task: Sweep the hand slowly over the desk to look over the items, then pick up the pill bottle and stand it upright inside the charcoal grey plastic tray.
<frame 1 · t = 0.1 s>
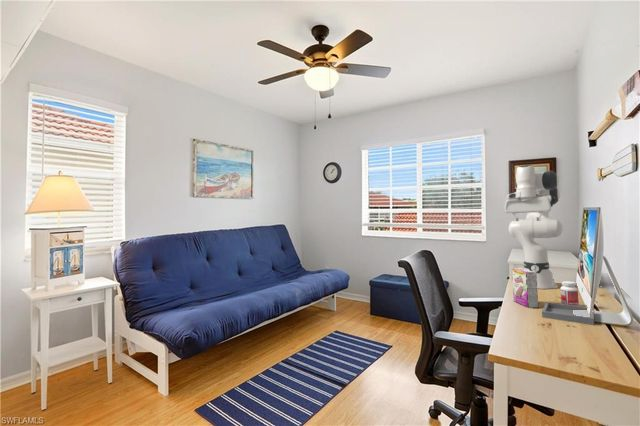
hand: (527, 221, 159), 39 cm above the table, tool pointing down, fingers open, 8 cm apart
candy bar box: (525, 305, 144), on the table
pill bottle: (570, 306, 138), on the table
grey tray: (568, 315, 127), on the table
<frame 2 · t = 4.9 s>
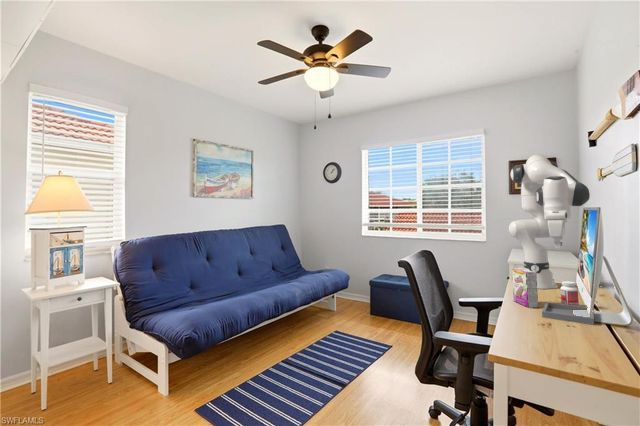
hand: (558, 247, 128), 29 cm above the table, tool pointing down, fingers open, 8 cm apart
nothing on the table moved.
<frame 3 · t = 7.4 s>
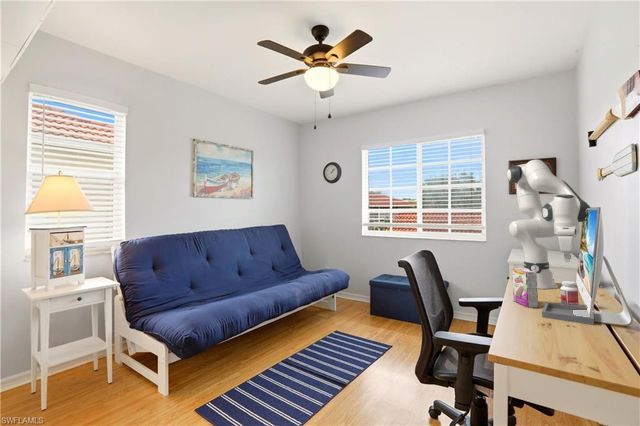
hand: (568, 260, 138), 21 cm above the table, tool pointing down, fingers open, 8 cm apart
nothing on the table moved.
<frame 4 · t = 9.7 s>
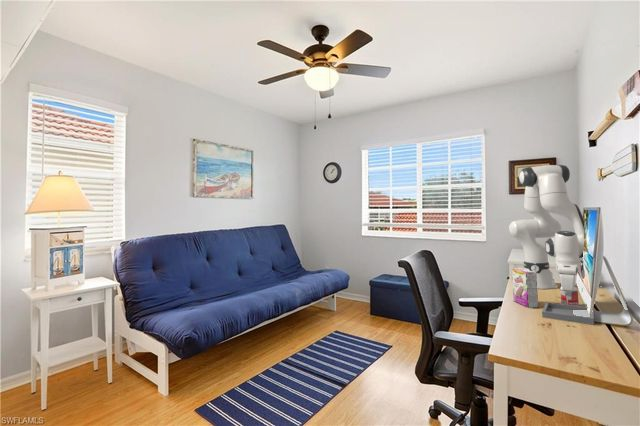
hand: (569, 297, 138), 4 cm above the table, tool pointing down, fingers closed on pill bottle, 6 cm apart
pill bottle: (570, 306, 138), on the table, touching gripper
everything else where it was.
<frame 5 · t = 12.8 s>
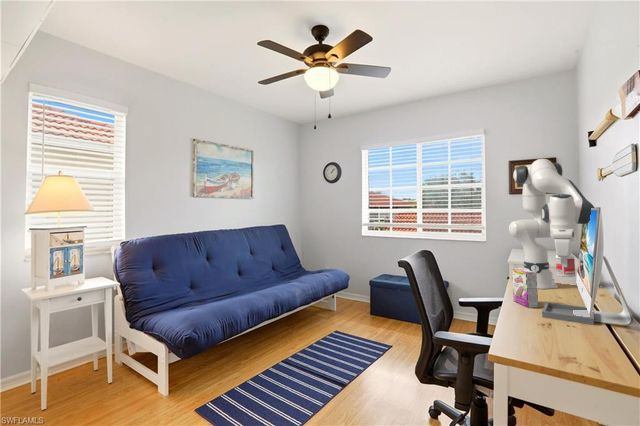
hand: (565, 265, 127), 21 cm above the table, tool pointing down, fingers closed on pill bottle, 6 cm apart
pill bottle: (565, 276, 127), point 16 cm above the table, touching gripper
everything else where it was.
when the fingers open (6 cm above the table, at t = 15.9 s): pill bottle drops 1 cm, resting on grey tray.
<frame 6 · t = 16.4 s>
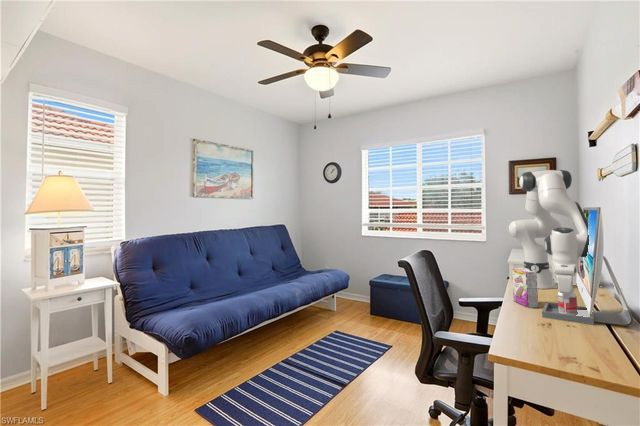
hand: (567, 299, 127), 7 cm above the table, tool pointing down, fingers open, 8 cm apart
pill bottle: (568, 314, 127), resting on grey tray
everything else where it was.
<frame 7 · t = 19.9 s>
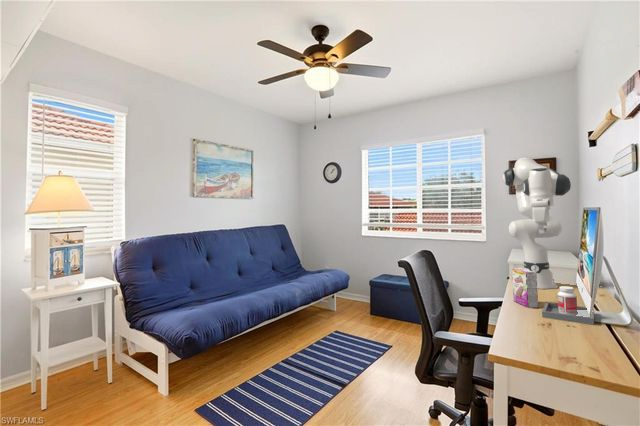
hand: (543, 232, 141), 34 cm above the table, tool pointing down, fingers open, 8 cm apart
nothing on the table moved.
at the end: pill bottle inside the target area on the grey tray (0.4 cm from its centre), point 0.4 cm above the grey tray's base; pill bottle tilted 0°; the gripper is holding nothing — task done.
